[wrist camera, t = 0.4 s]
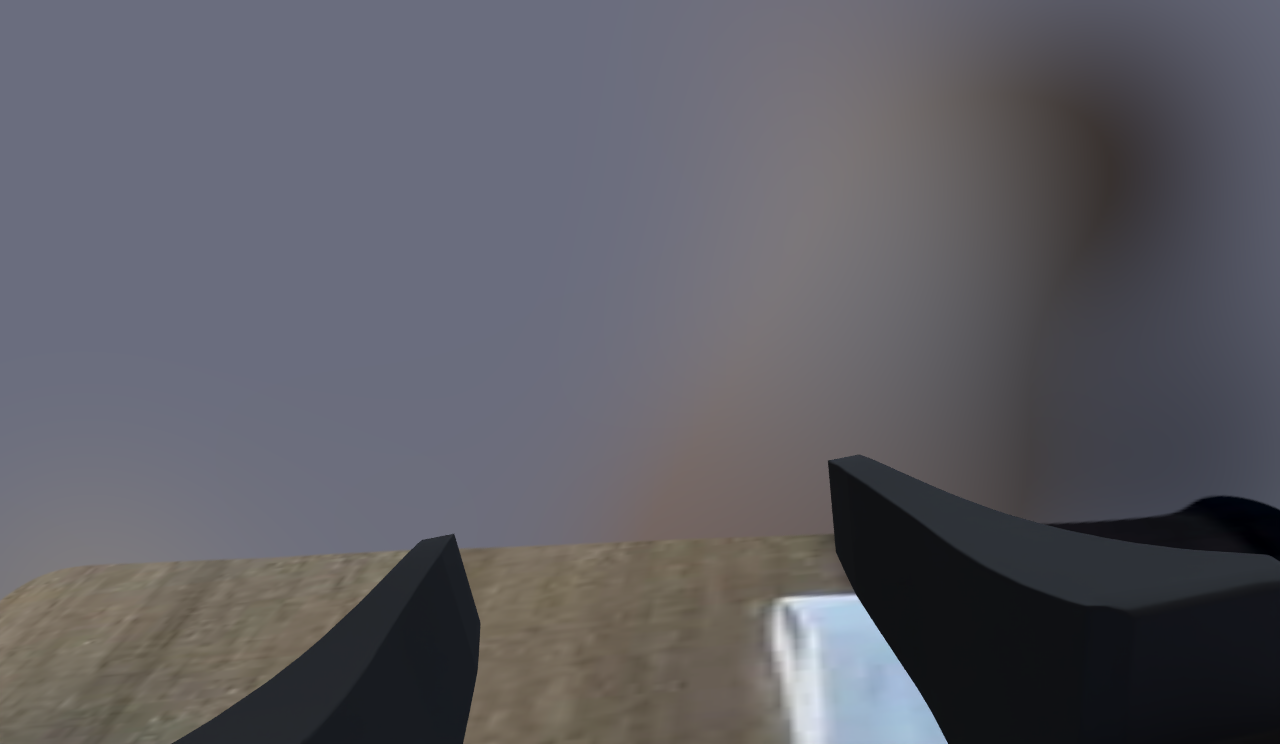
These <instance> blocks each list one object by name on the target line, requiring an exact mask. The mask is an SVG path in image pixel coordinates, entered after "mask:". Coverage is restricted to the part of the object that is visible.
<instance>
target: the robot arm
mask: <svg viewBox="0 0 1280 744" xmlns="http://www.w3.org/2000/svg"><path fill="white" fill-rule="evenodd" d="M828 467H829V478H830V490H831V501H832V513H833V523H834V536H835V547H836V553H837V555H838V557H839V560H840V562H841V564H842V566H843V568H844V571H845V573H846V575H847V577H848V579H849V581H850V583H851V585H852V587H853V589H854V591H855V593H856V595H857V597H858V598H859V600H860V602H861V603H862V605H863V606H864V608H865V609H866V611H867V612H868V614H869V616H870V617H871V619H872V620H873V622H874V623H875V625H876V626H877V628H878V629H879V631H880V632H881V634H882V635H883V637H884V638H885V640H886V641H887V643H888V644H889V646H890V647H891V649H892V650H893V652H894V653H895V655H896V657H897V658H898V660H899V661H900V663H901V664H902V666H903V667H904V669H905V670H906V672H907V673H908V675H909V676H910V678H911V679H912V681H913V682H914V684H915V685H916V687H917V688H918V690H919V692H920V693H921V695H922V697H923V698H924V700H925V702H926V703H927V705H928V707H929V708H930V710H931V712H932V714H933V715H934V717H935V719H936V721H937V723H938V725H939V727H940V729H941V731H942V733H943V735H944V737H945V739H946V740H947V742H948V744H1280V562H1279V561H1278V560H1276V559H1274V558H1273V557H1271V556H1269V555H1260V554H1245V553H1230V552H1215V551H1200V550H1187V549H1178V548H1170V547H1162V546H1154V545H1146V544H1138V543H1132V542H1126V541H1120V540H1113V539H1108V538H1103V537H1098V536H1093V535H1088V534H1083V533H1078V532H1073V531H1068V530H1064V529H1060V528H1056V527H1051V526H1047V525H1043V524H1040V523H1036V522H1033V521H1029V520H1026V519H1022V518H1019V517H1015V516H1012V515H1008V514H1005V513H1002V512H999V511H996V510H993V509H990V508H987V507H985V506H982V505H979V504H977V503H974V502H971V501H968V500H965V499H963V498H960V497H958V496H955V495H953V494H950V493H948V492H945V491H943V490H941V489H938V488H936V487H934V486H931V485H929V484H927V483H924V482H922V481H920V480H917V479H915V478H913V477H911V476H909V475H906V474H904V473H902V472H899V471H897V470H895V469H893V468H891V467H888V466H886V465H884V464H882V463H879V462H877V461H875V460H873V459H870V458H867V457H865V456H862V455H855V456H850V457H844V458H840V459H834V460H829V461H828ZM479 642H480V620H479V616H478V613H477V609H476V606H475V603H474V599H473V596H472V593H471V589H470V586H469V582H468V579H467V576H466V572H465V569H464V565H463V562H462V559H461V555H460V552H459V549H458V545H457V542H456V538H455V535H454V534H451V535H446V536H440V537H436V538H431V539H425V540H422V541H420V542H419V543H418V544H417V545H416V546H415V547H414V548H413V549H412V550H411V551H410V552H409V553H408V554H407V555H406V556H405V557H404V558H403V559H402V560H401V561H400V562H399V563H398V564H397V565H396V566H395V567H394V568H393V569H392V570H391V571H390V572H389V573H388V574H387V575H386V576H385V577H384V578H383V579H382V580H381V581H380V582H379V584H378V585H377V586H376V587H375V588H374V589H373V590H372V591H371V592H370V593H369V594H368V595H367V596H366V597H365V598H364V599H363V600H362V601H361V602H360V603H359V604H358V605H357V606H356V607H355V608H354V609H352V610H351V611H350V612H349V613H348V614H347V615H346V616H345V617H344V618H343V619H342V620H341V621H340V622H339V623H337V624H336V625H335V626H334V627H333V628H332V629H331V630H330V631H329V632H328V633H327V634H326V635H325V636H324V637H322V638H321V639H320V640H319V641H318V642H317V643H316V644H314V645H313V646H312V647H311V648H310V649H309V650H307V651H306V652H305V653H304V654H303V655H301V656H300V657H299V658H298V659H296V660H295V661H294V662H293V663H291V664H290V665H289V666H287V667H286V668H285V669H284V670H282V671H281V672H280V673H278V674H277V675H276V676H275V677H273V678H272V679H271V680H269V681H268V682H266V683H265V684H264V685H262V686H261V687H259V688H258V689H256V690H255V691H253V692H252V693H251V694H249V695H248V696H246V697H245V698H243V699H242V700H240V701H239V702H237V703H236V704H234V705H233V706H231V707H230V708H229V709H227V710H226V711H224V712H223V713H221V714H220V715H218V716H217V717H215V718H214V719H212V720H210V721H209V722H207V723H206V724H204V725H202V726H201V727H199V728H197V729H196V730H194V731H192V732H191V733H189V734H187V735H186V736H184V737H182V738H181V739H179V740H177V741H175V742H174V743H172V744H463V741H464V736H465V731H466V726H467V722H468V717H469V712H470V707H471V702H472V697H473V692H474V687H475V682H476V676H477V670H478V657H479Z"/></svg>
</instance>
